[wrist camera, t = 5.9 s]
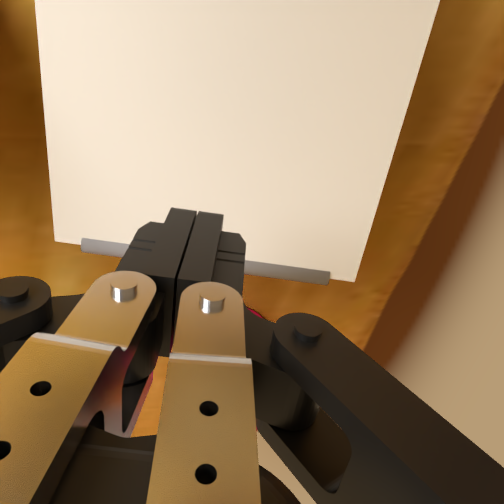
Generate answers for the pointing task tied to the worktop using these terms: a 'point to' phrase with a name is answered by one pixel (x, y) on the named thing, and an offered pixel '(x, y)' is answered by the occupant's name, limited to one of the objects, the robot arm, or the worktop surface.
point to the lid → (228, 120)
